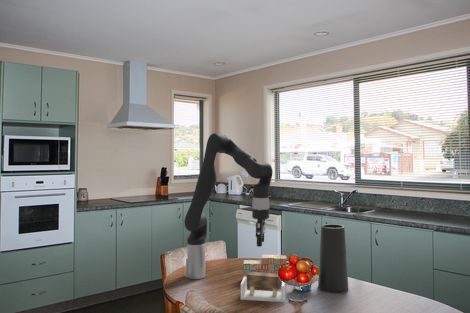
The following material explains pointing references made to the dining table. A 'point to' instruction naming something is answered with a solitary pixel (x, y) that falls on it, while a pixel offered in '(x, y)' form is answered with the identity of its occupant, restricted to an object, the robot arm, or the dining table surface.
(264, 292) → the peg stand
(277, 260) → the stack of blocks
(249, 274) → the plank
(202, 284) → the dining table surface
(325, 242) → the vase
